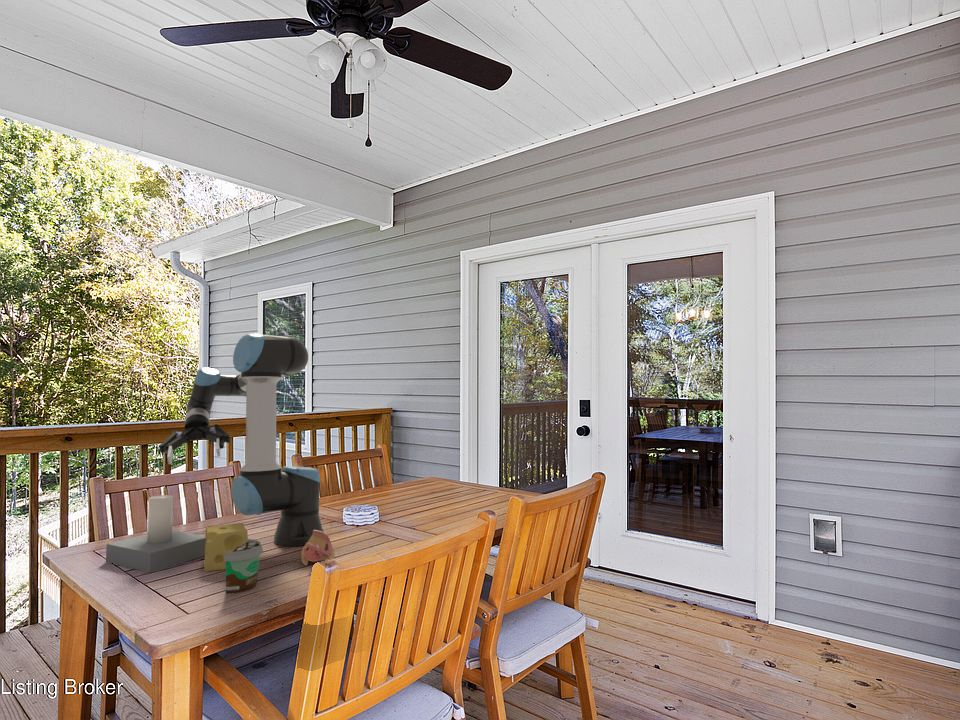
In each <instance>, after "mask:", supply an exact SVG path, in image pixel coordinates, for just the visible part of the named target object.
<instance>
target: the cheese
mask: <svg viewBox="0 0 960 720" xmlns="http://www.w3.org/2000/svg"><path fill="white" fill-rule="evenodd" d="M204 536H205V556H204V562H203V563H204V566H203V569H204V572H214V571H220V570H221V571H222V570H226V561H224V559H225V555H226V552H232V551H234V550H235V549H236V548H237V547H239V546H242V545H244V544H245V543H246V539H249V534H248V530H247V528H246V527H245V525H244V523H243V522H242V523H229V524H219V525H218V524H217V525H206V526H205V534H204Z"/></svg>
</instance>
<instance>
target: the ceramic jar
mask: <svg viewBox="0 0 960 720" xmlns="http://www.w3.org/2000/svg"><path fill="white" fill-rule="evenodd" d="M173 512H174V495H171V494H169V495H168V494H164V495H154V496H150V497H148V513H147V533H146V534H147V542H148V543H163V542H167V541H170V540H171V539H172V530H173Z"/></svg>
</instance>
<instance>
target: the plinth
mask: <svg viewBox="0 0 960 720" xmlns="http://www.w3.org/2000/svg"><path fill="white" fill-rule="evenodd" d="M105 551H106V552H105V563H106V562H109V563H108V564H110V563H113V564H112V565H115V564H117V565H116V566H119V565H121V566H120V567H123V566H125V567H124V568H128V567H129V569H133V570H136V571H141V572H146V573H148V574H149V573H153V572H157V571H160V570H163V569H166V568H170V567H173V566H176V565H179V564H182V562H183V563H185V562H189V561H192V560H195V559H198V558H201V557H205V535H200V534H195V533H194V534H193V533H191V532H190V533H189V532H184V531H183V532H182V531H179V530H173V529H172V539H171V540H170V541H167V542H163V543H148V542H147V533H146V534H142V535H138V536H134V537H130V538H125V539H121V540H117V541H113V542H110V543H106V550H105ZM175 564H176V565H175ZM172 565H173V566H172ZM169 566H170V567H169Z"/></svg>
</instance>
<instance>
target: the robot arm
mask: <svg viewBox="0 0 960 720" xmlns="http://www.w3.org/2000/svg"><path fill="white" fill-rule="evenodd" d="M308 362H309V353H308V349H307V347H306V345H304V343H303V342H302V341H300V340H299V339H297V338H295V337H291V336H281V335H271V334H262V333H249V334H245V335H244V336H241V338H239V340H238V342H237V343H236V345H235V347H234V350H233V356H232V363H233V365H234V366H233V367H234V370H236V371H237V372H239V373H240V374H236V375H231V374H230V375H229V374H221V372H220V371H219V370H218V369H216V368H213V367H212V368H211V367H206V366H205V367H201V368H199V369H198V370H197V372H196V375H195V378H194V382H193V385H192V390H191V392H190V393H191V394H190V396H189V399H188V401H187V405H186V414H185V418H184V419H185V421H184V428H183V430H182V431H178V430H177V429H175V430H173V431H172V433H171V434H170V435H168V437H167V438H166V439H165V440H163V441H162V442H161V443H159V445H158V446H159V452H160V453H161V454H164V457H165V458H166V459H167V462H168V463H167V464H168V465H172V464H173V458H174V451H175V450H176V449H178V448H180V447H181V446H182V445H184V444H188V443H189V442H191V441H195V440H206V441H208V440H209V441H212V442H213V443H216V448H215V449H216V455H217V457H221V449H224V448H225V444H226V443H227V444H229V443H231V439H230V434H229V433H227V432H226V431H225V430H223V429H222V428H221V427H220V425H219V424H218V423H217V424H214V426H211V427H210V422H211V411H212V407H213V403H214V400H215V397H245V400H246V402H245V403H246V404H245V405H246V407H245V408H246V409H245V412H246V414H245V417H246V418H245V463H244V465H243V466H242V467H241V468H240V470H239V475H238V476H236V477H235V478H234V479H233V481H232V484H231V492H230V493H231V498H232V501H233V504H234V506H235V507H236V509H237V512H239V513H240V514H242V515H244V516H254V515H255V516H256V515H257V516H260V515H262V514H267V513H273V512H274V513H275V512H278V511H280V518H279V520H278V522H277V527H276V531H275V532H274V535H273V536H274V537H273V542H274V543H275V544H276V545H278V546H283V547H284V546H285V547H303V546H302V545H304V546H305V544H306V543H307V542H309V541H308V540H309V539H310V538H311V536H312V534H313V530H319V531H321V532H323V533H325V531H324V528H323V525H322V521H321V518H320V496H321V495H320V492H321V491H320V488H321V484H322V483H321V474H320V473H321V472H320V471H319V469H317V468H314V467H309V466H307V467H306V466H298V465H297V466H296V465H285V466H282V467H281V465H279V464H278V462H277V384H278V383H279V382H280V381H281V379H283V377H292V376H294V375H295V376H296V375H297V374H299V373H300V372H302V371H303V370H304V369H305V368H306V367H307V364H308Z"/></svg>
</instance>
